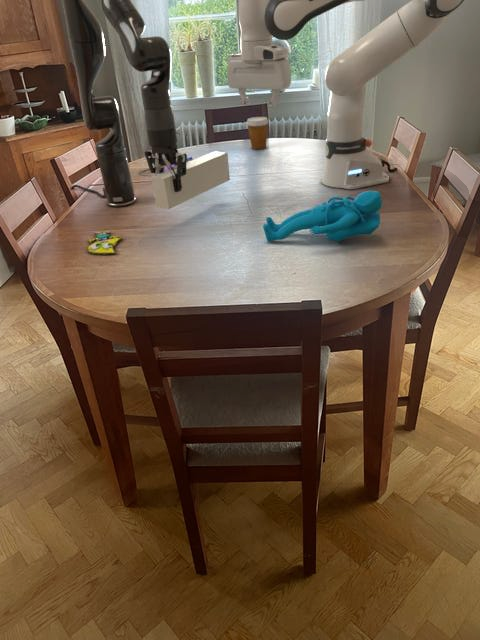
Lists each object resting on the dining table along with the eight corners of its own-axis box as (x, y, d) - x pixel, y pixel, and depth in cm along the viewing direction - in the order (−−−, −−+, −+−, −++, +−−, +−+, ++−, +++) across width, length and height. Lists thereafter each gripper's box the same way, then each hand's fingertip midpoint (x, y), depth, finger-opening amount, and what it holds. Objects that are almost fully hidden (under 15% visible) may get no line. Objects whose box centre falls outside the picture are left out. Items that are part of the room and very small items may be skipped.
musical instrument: (136, 181, 187) (185, 170, 185) (134, 175, 186) (183, 165, 184) (148, 168, 208) (192, 158, 206) (147, 163, 207) (191, 153, 205)
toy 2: (268, 204, 133) (379, 177, 123) (278, 239, 138) (385, 216, 128) (257, 229, 119) (380, 200, 109) (269, 266, 124) (388, 242, 114)
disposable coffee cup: (269, 149, 209) (268, 120, 203) (248, 151, 210) (246, 121, 203) (269, 144, 217) (267, 115, 210) (248, 145, 217) (246, 117, 211)
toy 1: (125, 229, 140) (115, 251, 128) (126, 232, 141) (116, 254, 128) (91, 232, 140) (77, 253, 128) (92, 234, 141) (78, 256, 128)
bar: (217, 178, 153) (214, 151, 148) (229, 180, 150) (227, 152, 146) (156, 206, 135) (150, 176, 130) (169, 209, 132) (164, 178, 128)
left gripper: (131, 127, 126) (143, 190, 135) (170, 130, 119) (180, 197, 128) (151, 121, 131) (161, 183, 140) (190, 124, 124) (198, 189, 133)
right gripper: (220, 54, 138) (225, 106, 145) (281, 52, 127) (282, 108, 135) (233, 51, 142) (237, 102, 149) (293, 50, 131) (294, 104, 139)
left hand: (170, 189), depth 134 cm, fingers closed on bar, 5 cm apart
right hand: (259, 105), depth 142 cm, fingers open, 8 cm apart
